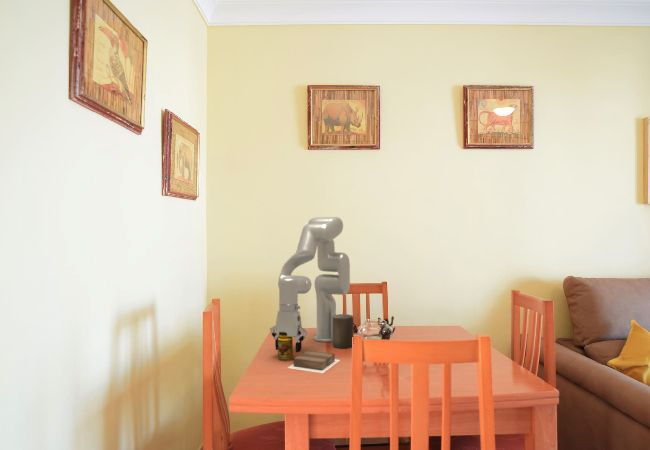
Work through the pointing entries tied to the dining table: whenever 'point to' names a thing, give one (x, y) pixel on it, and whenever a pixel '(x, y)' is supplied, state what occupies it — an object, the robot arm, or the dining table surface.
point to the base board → (314, 369)
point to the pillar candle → (342, 331)
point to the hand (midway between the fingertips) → (288, 350)
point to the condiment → (285, 347)
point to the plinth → (314, 360)
